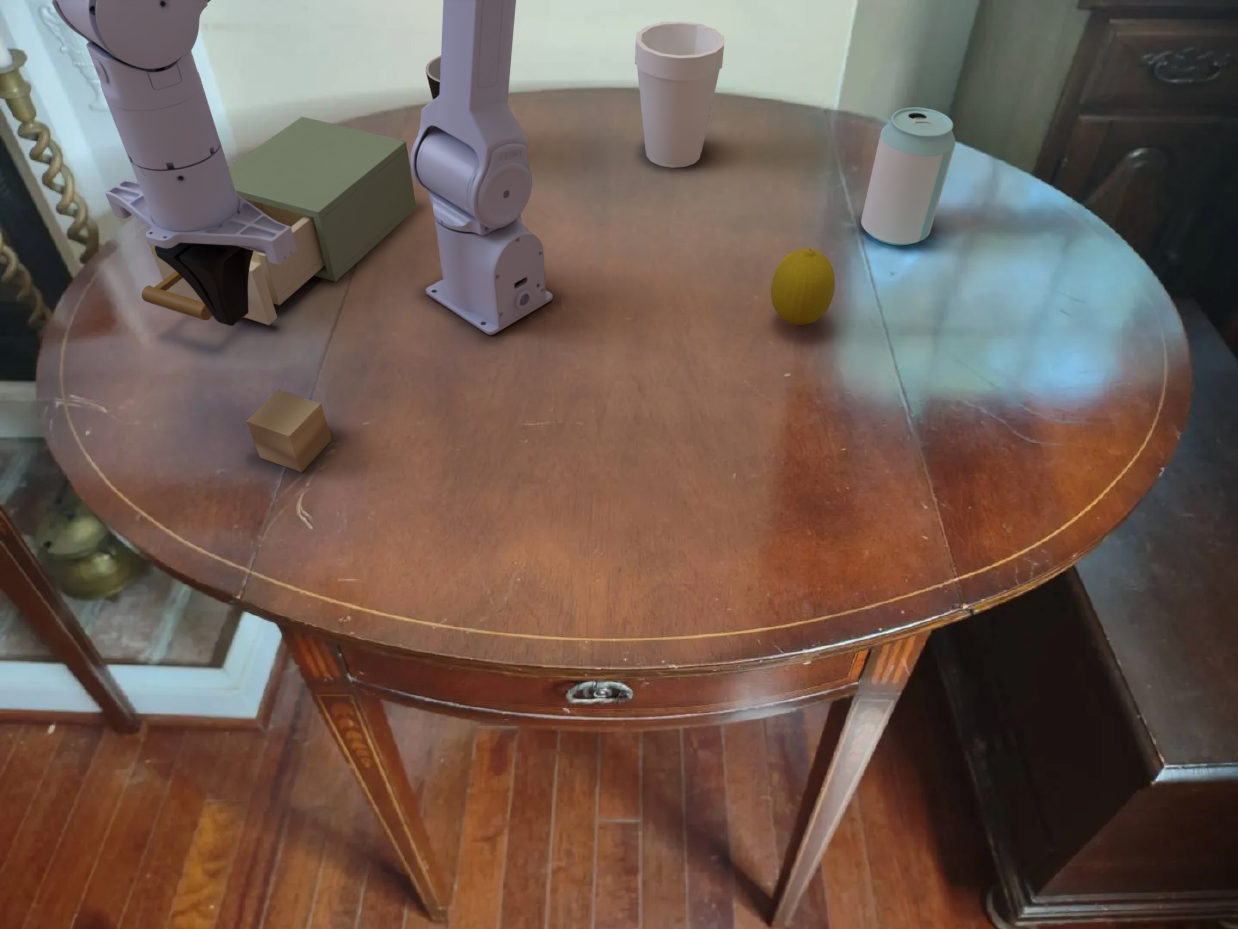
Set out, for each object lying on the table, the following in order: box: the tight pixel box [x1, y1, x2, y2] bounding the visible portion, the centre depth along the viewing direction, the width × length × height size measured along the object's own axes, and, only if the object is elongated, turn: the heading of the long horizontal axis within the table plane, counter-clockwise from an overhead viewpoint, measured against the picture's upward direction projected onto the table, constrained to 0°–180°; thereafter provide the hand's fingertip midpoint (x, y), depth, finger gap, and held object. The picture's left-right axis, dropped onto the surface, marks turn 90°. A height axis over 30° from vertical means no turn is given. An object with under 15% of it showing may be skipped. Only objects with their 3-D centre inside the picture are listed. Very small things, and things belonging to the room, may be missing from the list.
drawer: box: [141, 199, 325, 326], centre depth 87 cm, size 18×11×6 cm, turn 157°
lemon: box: [770, 248, 836, 326], centre depth 84 cm, size 6×6×8 cm
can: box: [860, 107, 956, 246], centre depth 94 cm, size 7×7×12 cm
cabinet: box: [228, 116, 417, 283], centre depth 94 cm, size 15×13×8 cm
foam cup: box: [634, 20, 725, 169], centre depth 104 cm, size 10×9×13 cm
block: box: [246, 389, 333, 473], centre depth 74 cm, size 4×4×4 cm
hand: (233, 316), depth 71 cm, fingers closed
